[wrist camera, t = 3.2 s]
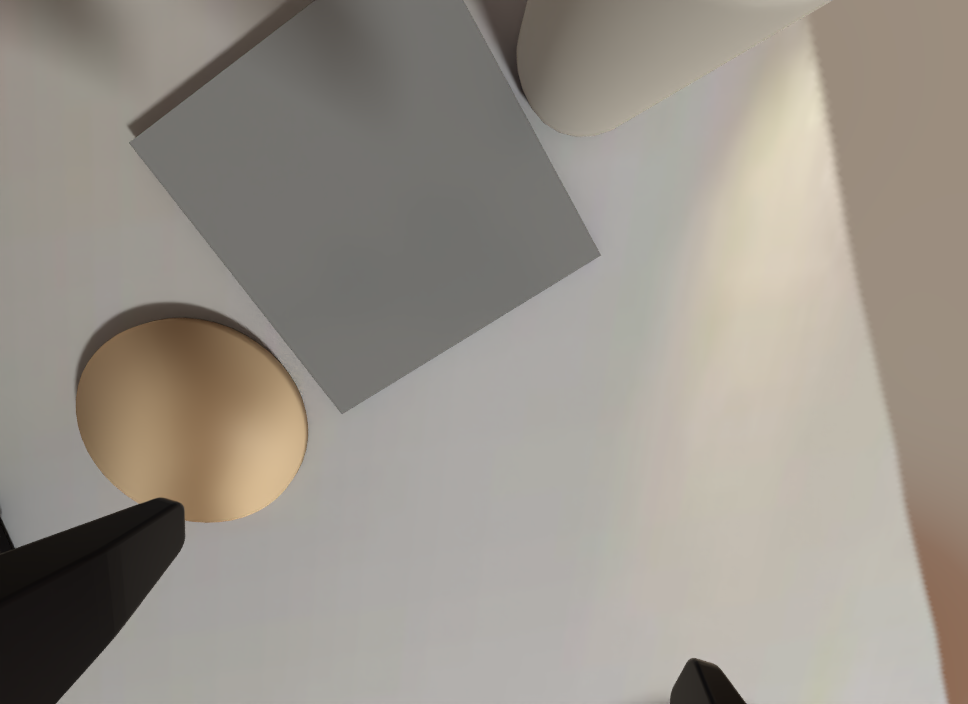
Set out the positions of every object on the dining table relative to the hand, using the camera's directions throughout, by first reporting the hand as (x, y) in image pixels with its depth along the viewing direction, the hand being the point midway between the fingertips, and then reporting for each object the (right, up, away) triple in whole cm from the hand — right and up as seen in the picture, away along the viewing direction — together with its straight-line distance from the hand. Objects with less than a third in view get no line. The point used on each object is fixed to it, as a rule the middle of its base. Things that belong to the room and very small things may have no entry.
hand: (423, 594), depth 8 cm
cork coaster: (-11, +1, +12) cm, 16 cm away
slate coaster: (-3, +10, +9) cm, 14 cm away
